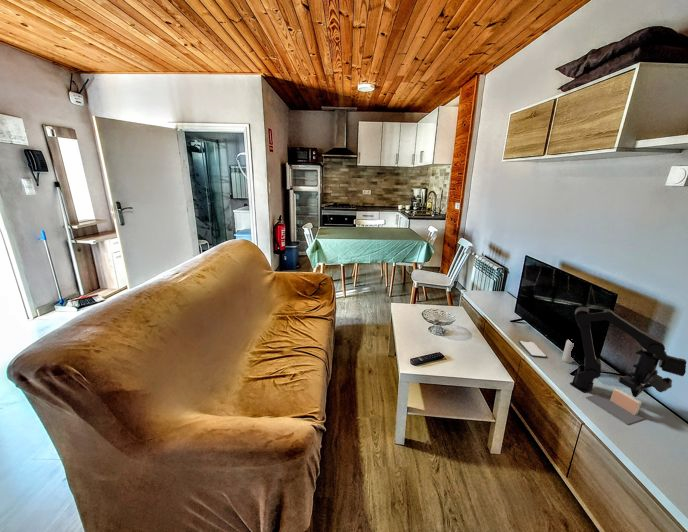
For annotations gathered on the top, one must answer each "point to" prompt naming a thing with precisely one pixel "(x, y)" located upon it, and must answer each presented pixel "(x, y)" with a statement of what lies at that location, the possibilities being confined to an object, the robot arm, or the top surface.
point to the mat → (614, 408)
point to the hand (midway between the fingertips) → (634, 396)
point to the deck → (626, 401)
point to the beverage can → (568, 352)
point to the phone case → (532, 349)
